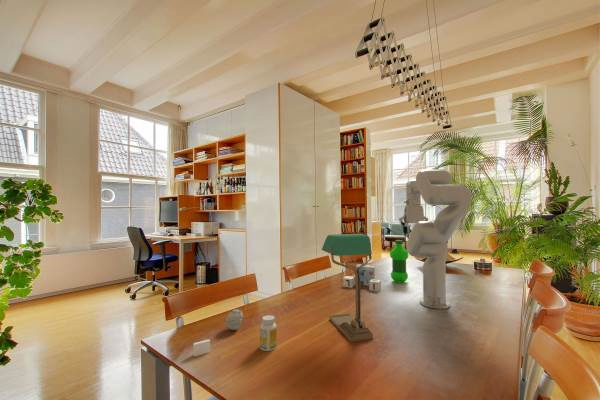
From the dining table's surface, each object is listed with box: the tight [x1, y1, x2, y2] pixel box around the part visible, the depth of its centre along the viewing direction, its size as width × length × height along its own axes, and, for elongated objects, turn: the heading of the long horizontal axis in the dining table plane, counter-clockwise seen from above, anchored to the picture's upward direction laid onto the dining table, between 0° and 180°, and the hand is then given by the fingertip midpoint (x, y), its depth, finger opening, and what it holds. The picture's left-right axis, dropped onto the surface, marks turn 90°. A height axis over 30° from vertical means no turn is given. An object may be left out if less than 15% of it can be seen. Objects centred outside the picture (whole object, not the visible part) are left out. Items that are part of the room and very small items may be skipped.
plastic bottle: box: [389, 239, 409, 284], centre depth 170 cm, size 10×10×25 cm
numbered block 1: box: [368, 279, 382, 293], centre depth 154 cm, size 5×5×5 cm
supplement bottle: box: [259, 314, 278, 352], centre depth 91 cm, size 5×5×10 cm
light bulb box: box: [355, 263, 376, 287], centre depth 166 cm, size 11×7×11 cm, turn 73°
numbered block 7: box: [342, 275, 355, 288], centre depth 161 cm, size 5×5×5 cm
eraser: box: [192, 338, 211, 357], centre depth 87 cm, size 1×5×4 cm, turn 124°
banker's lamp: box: [321, 233, 374, 342], centre depth 106 cm, size 16×21×35 cm
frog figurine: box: [224, 308, 244, 331], centre depth 104 cm, size 6×7×7 cm
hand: (413, 233), depth 157 cm, fingers open, 9 cm apart
